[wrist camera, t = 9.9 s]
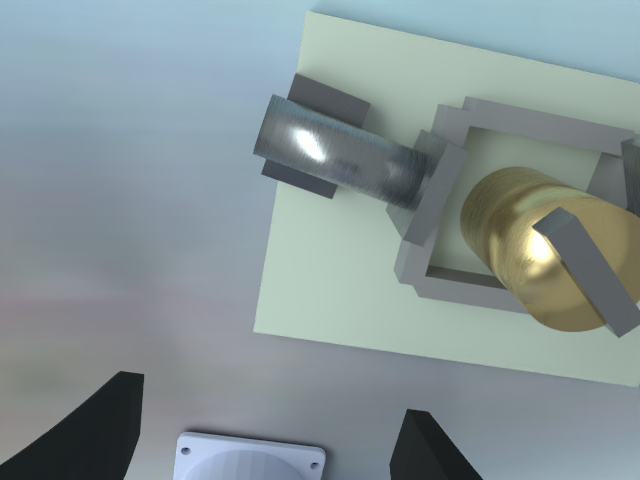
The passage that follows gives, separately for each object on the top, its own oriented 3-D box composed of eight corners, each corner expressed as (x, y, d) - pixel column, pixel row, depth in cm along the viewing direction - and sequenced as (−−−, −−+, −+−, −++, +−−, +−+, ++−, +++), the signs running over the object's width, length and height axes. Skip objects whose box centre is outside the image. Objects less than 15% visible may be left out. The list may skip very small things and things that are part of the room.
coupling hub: (578, 222, 21) (696, 289, 14) (495, 281, 22) (572, 367, 15) (525, 143, 19) (628, 178, 13) (439, 209, 20) (498, 271, 14)
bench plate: (627, 377, 25) (656, 405, 23) (254, 322, 23) (250, 348, 21) (761, 111, 20) (814, 117, 18) (306, 12, 18) (306, 6, 16)
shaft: (433, 127, 20) (472, 146, 15) (395, 211, 21) (420, 252, 17) (284, 67, 19) (279, 68, 14) (253, 160, 20) (240, 188, 16)
